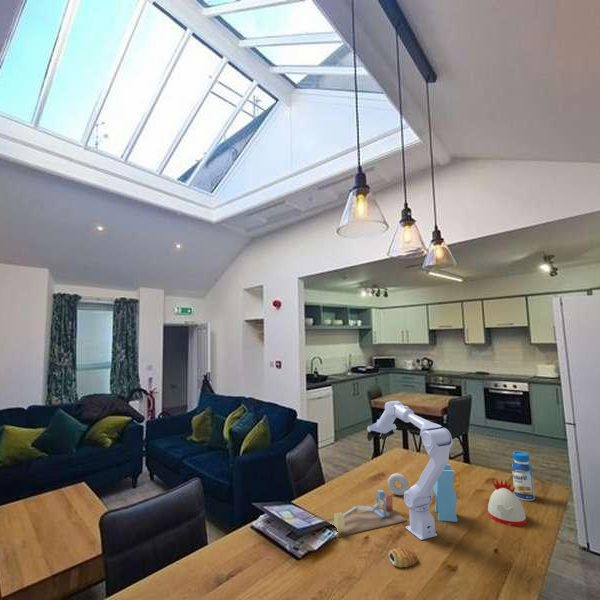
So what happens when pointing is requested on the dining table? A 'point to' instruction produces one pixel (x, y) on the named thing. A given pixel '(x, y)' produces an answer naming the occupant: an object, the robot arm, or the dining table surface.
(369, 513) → the tan flat sheet
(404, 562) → the pastry
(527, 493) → the beverage bottle
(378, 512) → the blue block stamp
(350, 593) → the dining table surface
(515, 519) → the kitchen timer
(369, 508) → the jointed linkage mechanism
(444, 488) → the vase
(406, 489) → the donut
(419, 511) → the robot arm
